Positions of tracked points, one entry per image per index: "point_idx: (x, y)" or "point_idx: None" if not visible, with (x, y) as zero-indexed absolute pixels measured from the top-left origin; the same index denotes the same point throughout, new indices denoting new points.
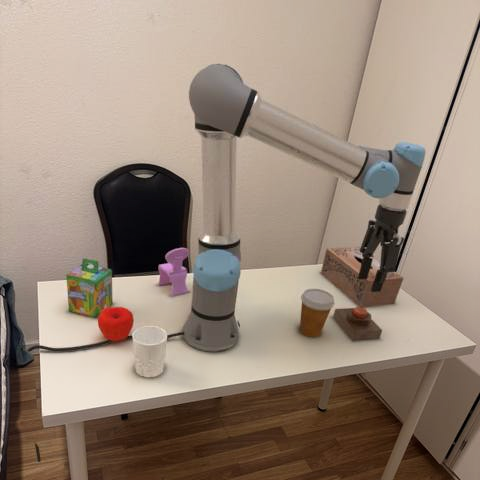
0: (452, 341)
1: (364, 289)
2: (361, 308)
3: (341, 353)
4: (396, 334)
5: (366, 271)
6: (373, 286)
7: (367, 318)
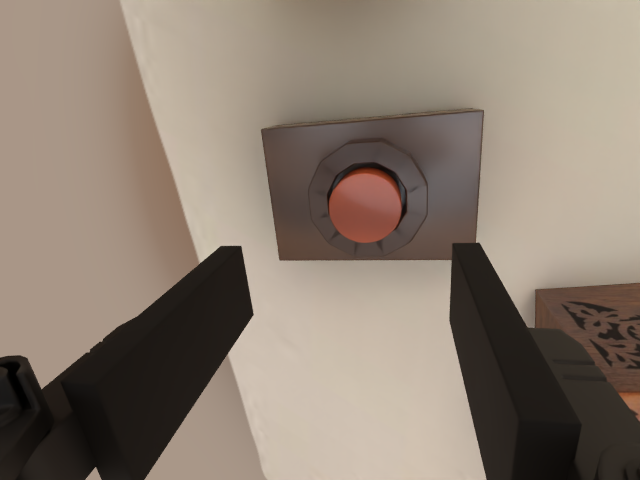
0: (281, 456)
1: (588, 346)
2: (383, 222)
3: (192, 31)
4: (320, 322)
5: (464, 347)
6: (202, 266)
7: (325, 223)
